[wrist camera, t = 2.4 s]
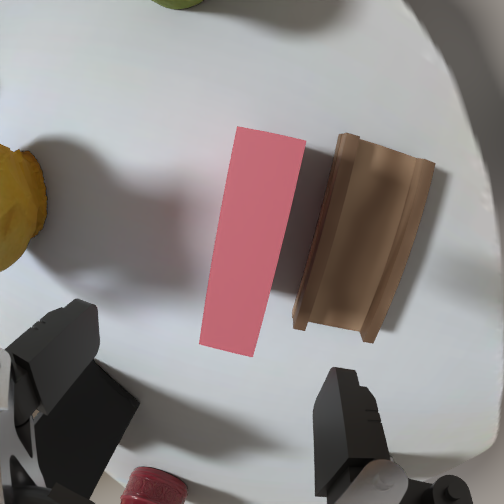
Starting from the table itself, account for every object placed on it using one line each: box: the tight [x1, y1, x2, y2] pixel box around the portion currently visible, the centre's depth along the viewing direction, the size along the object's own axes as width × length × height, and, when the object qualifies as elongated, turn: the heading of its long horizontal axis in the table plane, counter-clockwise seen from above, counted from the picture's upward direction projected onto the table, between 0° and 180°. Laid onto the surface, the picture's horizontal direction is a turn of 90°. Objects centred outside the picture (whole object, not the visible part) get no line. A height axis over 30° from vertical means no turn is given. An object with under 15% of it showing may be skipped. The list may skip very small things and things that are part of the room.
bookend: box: [34, 360, 140, 499], centre depth 33 cm, size 23×11×24 cm, turn 132°
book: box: [199, 126, 306, 357], centre depth 25 cm, size 4×15×12 cm, turn 168°
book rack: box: [292, 133, 435, 343], centre depth 28 cm, size 9×19×4 cm, turn 168°
